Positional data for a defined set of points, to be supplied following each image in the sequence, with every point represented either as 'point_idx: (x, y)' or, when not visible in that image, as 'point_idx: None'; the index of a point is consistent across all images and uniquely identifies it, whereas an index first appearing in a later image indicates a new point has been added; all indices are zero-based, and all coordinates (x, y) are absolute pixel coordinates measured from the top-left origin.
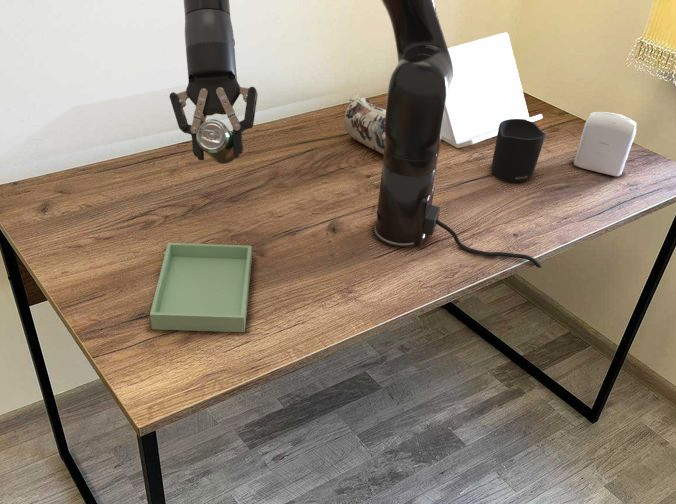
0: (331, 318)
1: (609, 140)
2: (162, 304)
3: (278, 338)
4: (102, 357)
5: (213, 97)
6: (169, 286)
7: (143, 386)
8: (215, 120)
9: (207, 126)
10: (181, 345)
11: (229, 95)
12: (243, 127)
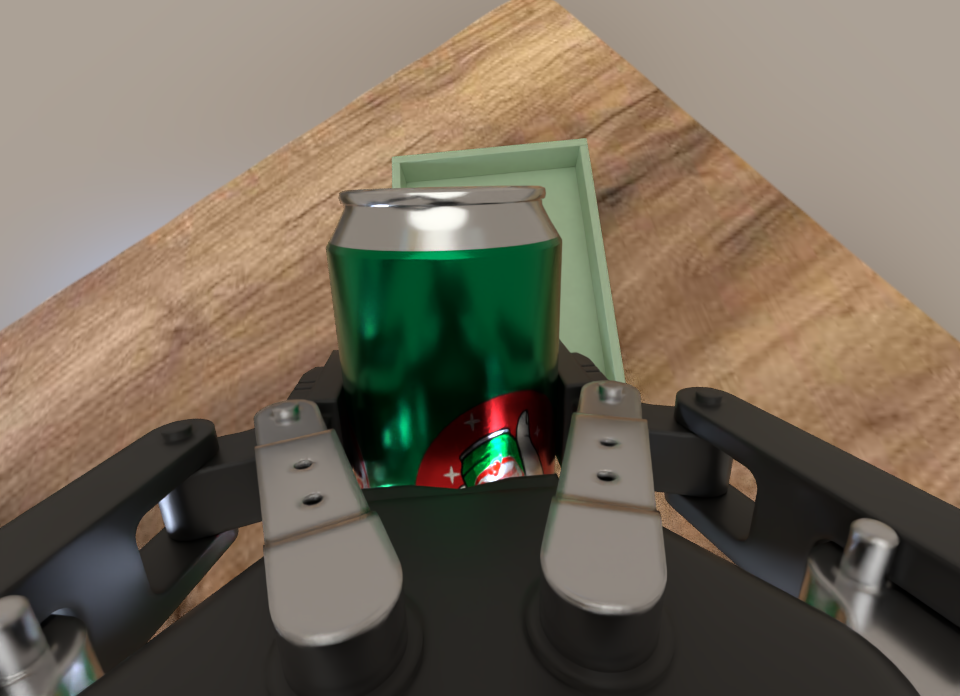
0: (229, 243)
1: None
2: (579, 222)
3: (335, 176)
4: (645, 91)
5: (465, 588)
6: (581, 281)
7: (553, 45)
8: (411, 241)
9: (471, 188)
10: (513, 135)
11: (233, 617)
12: (240, 434)
